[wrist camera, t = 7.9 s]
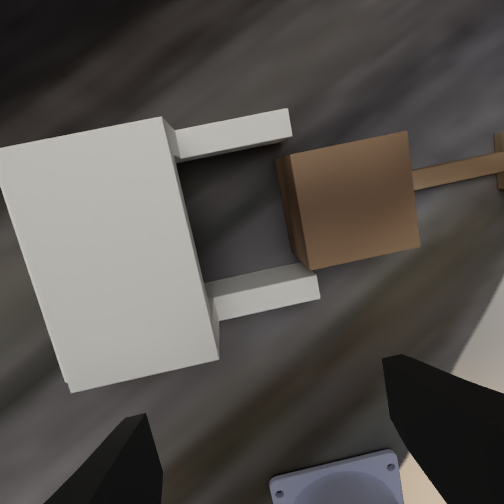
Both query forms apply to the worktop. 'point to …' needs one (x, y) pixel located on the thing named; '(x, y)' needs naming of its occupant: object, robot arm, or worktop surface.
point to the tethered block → (363, 196)
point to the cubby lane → (132, 246)
